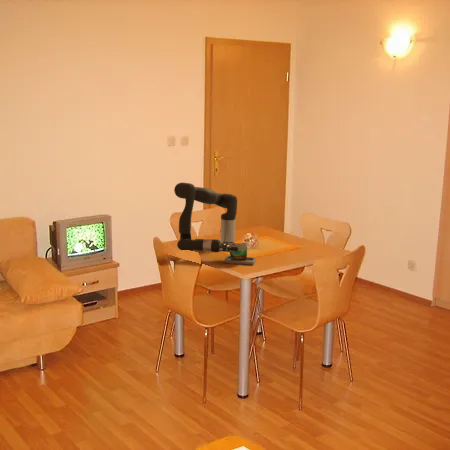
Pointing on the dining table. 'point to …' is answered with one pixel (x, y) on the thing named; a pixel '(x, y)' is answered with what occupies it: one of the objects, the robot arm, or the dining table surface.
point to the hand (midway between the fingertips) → (239, 247)
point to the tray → (246, 262)
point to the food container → (239, 251)
